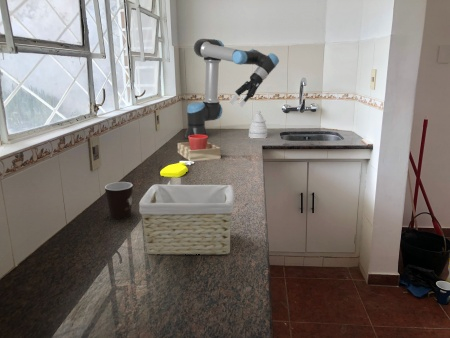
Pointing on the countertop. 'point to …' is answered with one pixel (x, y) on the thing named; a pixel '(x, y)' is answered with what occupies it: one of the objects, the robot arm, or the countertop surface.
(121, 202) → the coffee mug
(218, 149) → the pine crate
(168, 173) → the spray bottle
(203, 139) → the flower pot
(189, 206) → the storage basket
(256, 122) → the honey pot
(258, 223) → the countertop surface
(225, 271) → the countertop surface
